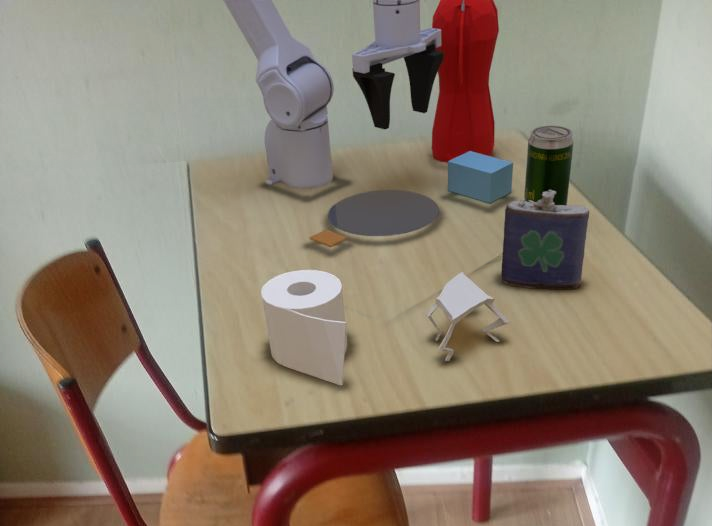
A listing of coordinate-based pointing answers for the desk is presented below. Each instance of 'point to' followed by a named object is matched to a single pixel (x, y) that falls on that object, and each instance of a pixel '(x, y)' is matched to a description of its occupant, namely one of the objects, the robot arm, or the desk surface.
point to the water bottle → (464, 78)
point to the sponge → (480, 177)
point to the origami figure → (463, 306)
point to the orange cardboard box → (328, 238)
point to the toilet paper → (307, 323)
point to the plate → (383, 213)
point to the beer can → (549, 163)
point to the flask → (544, 243)
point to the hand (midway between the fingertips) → (401, 119)
